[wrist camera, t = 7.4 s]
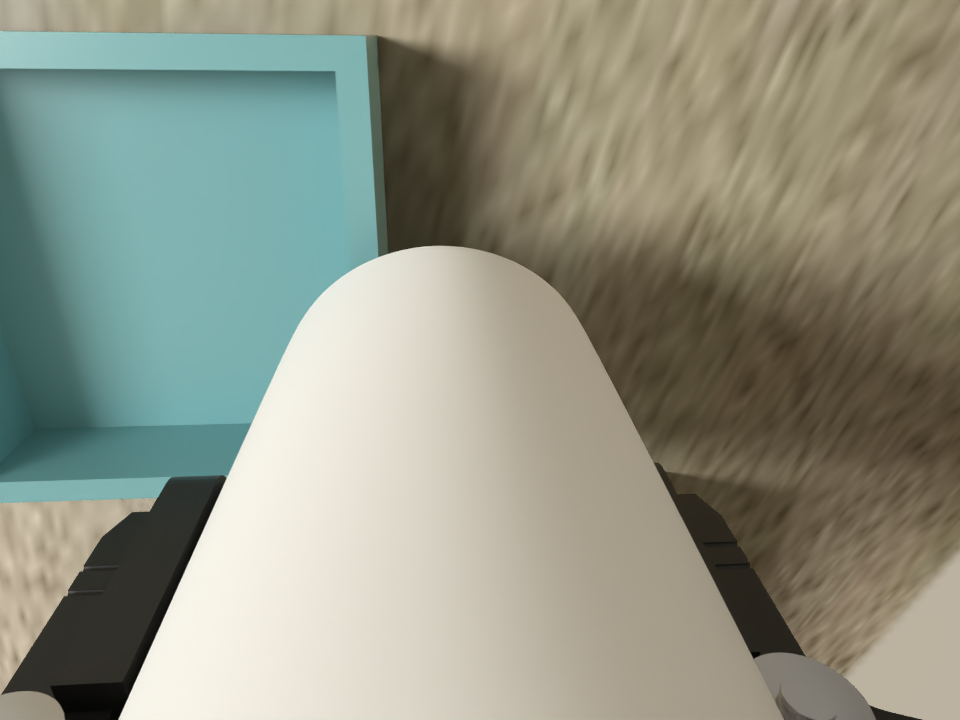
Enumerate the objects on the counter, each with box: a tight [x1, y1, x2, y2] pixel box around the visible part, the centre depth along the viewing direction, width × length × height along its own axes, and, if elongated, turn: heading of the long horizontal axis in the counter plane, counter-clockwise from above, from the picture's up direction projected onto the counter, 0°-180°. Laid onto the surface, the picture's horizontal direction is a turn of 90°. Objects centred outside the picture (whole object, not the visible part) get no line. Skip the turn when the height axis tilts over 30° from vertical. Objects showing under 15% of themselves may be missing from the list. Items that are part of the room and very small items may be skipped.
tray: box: [0, 31, 388, 503], centre depth 15 cm, size 10×10×3 cm
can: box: [119, 246, 784, 720], centre depth 9 cm, size 6×6×12 cm
